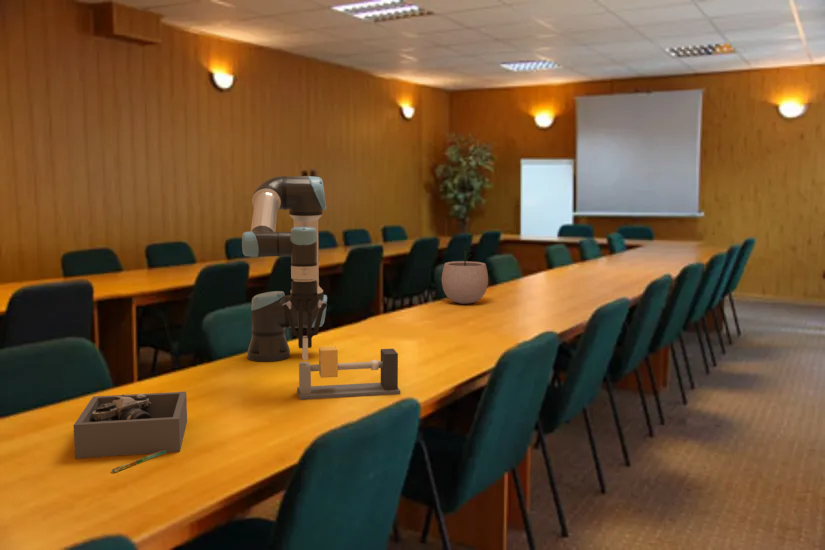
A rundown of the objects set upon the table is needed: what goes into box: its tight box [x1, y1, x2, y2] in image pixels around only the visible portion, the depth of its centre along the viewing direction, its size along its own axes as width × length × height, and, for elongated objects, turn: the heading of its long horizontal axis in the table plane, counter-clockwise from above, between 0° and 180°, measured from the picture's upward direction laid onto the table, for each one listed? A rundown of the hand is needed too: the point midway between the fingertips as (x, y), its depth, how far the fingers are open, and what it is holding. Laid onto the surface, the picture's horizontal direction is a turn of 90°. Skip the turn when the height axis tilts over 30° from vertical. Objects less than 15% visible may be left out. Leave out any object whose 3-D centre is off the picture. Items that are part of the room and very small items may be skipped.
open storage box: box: [72, 391, 188, 459], centre depth 185 cm, size 23×23×8 cm
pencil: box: [111, 450, 168, 474], centre depth 171 cm, size 1×1×18 cm
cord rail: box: [296, 348, 401, 400], centre depth 226 cm, size 30×10×12 cm, turn 103°
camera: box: [91, 393, 152, 422], centre depth 186 cm, size 16×10×10 cm, turn 147°
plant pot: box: [441, 245, 489, 305], centre depth 387 cm, size 24×24×30 cm
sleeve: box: [318, 345, 339, 379], centre depth 224 cm, size 5×5×8 cm
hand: (305, 358), depth 222 cm, fingers closed
